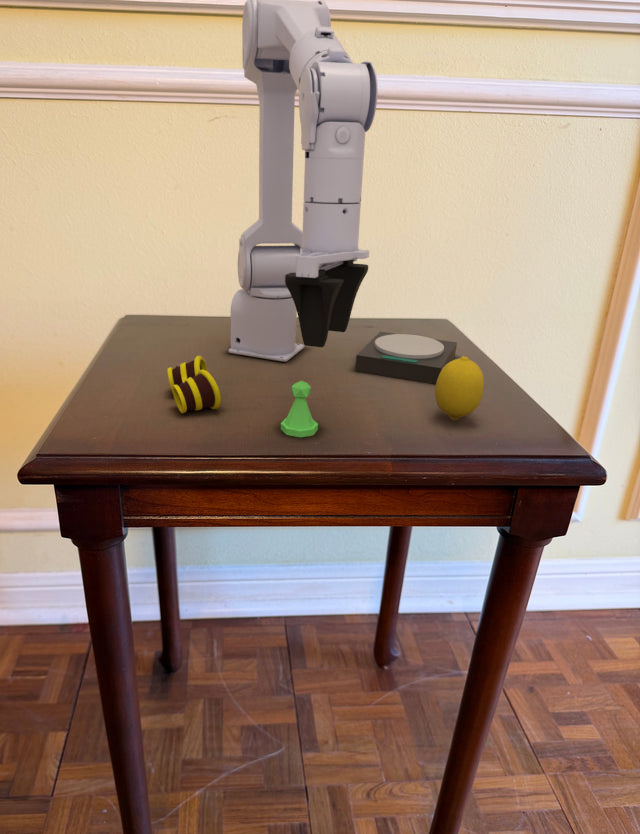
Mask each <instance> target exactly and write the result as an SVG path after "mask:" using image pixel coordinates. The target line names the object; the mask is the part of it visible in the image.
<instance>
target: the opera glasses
mask: <svg viewBox="0 0 640 834" xmlns="http://www.w3.org/2000/svg"><path fill="white" fill-rule="evenodd" d="M167 378H168V383H169V387H170V390H171V393H172V395H173V399H174V403H175V404H176V406H177V408H178V410H179V412H180V413H181V414H185V413H187V411H190V412H192V410H194V411H201V410H202V409H204V408H205V409H207V408H210V409H211V410H217V409H218V408H220V406H221V404H222V403H221V402H222V397H221V392H220V388H219V386H218V384H217V382H216V379H214V377H213V376H212V375H211V373H210V372H209V371H208V367H207V364H206V361H205V359H204V357H202V355H196V356H195V358H194V359H193V360H191V361H189V362H187V361H184V362H182V363H180V364H179V366H178V365H176V366H175V367H174V368H173V367H171V366H170V367H167Z"/></svg>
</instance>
